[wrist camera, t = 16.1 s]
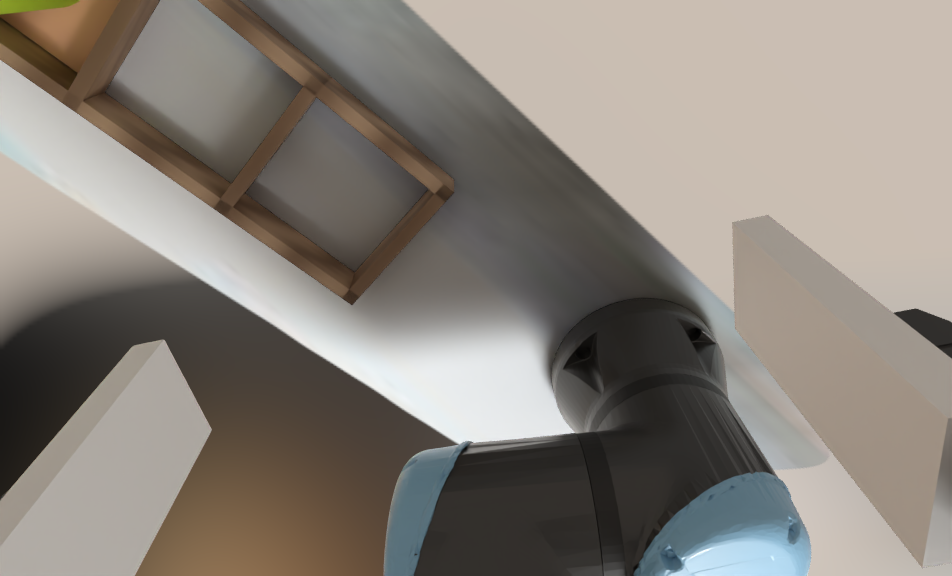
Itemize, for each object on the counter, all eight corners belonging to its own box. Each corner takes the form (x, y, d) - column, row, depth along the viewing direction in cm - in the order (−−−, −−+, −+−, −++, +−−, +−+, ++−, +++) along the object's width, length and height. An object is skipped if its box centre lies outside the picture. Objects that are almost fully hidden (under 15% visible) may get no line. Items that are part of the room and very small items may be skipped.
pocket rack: (453, 179, 48) (454, 192, 45) (357, 287, 52) (351, 305, 50) (-6, -206, 36) (-42, -218, 34) (-84, -27, 40) (-122, -26, 38)
